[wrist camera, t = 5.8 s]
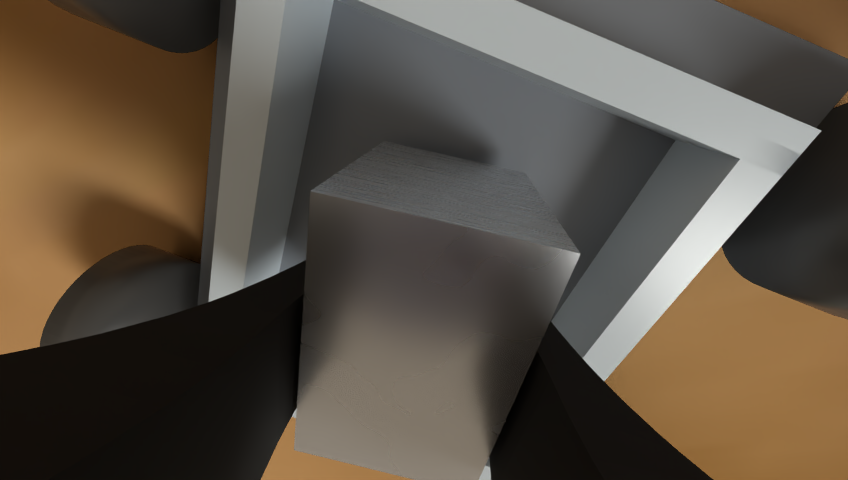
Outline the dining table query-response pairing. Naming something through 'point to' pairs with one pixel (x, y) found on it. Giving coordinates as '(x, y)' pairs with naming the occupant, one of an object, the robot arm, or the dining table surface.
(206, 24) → the chassis
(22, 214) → the dining table surface
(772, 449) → the dining table surface
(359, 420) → the brushed metal block
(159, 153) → the dining table surface
